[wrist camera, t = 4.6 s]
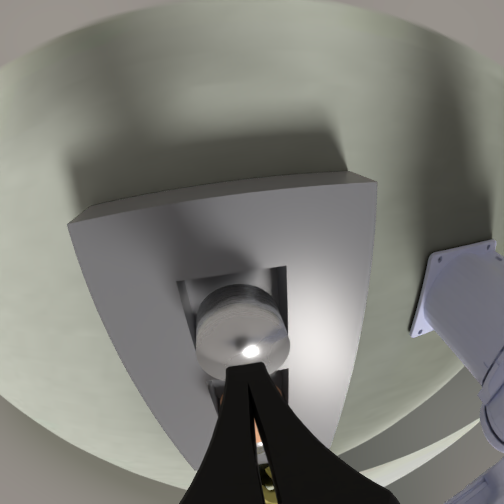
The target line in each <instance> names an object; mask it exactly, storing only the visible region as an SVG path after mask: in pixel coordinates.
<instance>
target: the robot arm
mask: <svg viewBox="0 0 504 504" xmlns="http://www.w3.org/2000/svg"><path fill="white" fill-rule="evenodd" d="M495 248H496V241H495V240H494V239H491V240H487V241H483V242H479V243H474V244H470V245H466V246H461V247H457V248H452V249H448V250H443V251H439V252H434V253H432V254H431V255H430V256H429V259H428V264H427V269H426V273H425V278H424V282H423V286H422V291H421V295H420V298H419V302H418V306H417V310H416V313H415V317H414V320H413V323H412V327H411V330H410V336H411V337H412V338H414V337H417V336H420V335H422V334H425V333H428V332H430V331H433V330H435V332H436V333H437V334H438V335H439V336H440V337H441V338H442V339H443V341H444V342H445V343H446V344H447V345H448V346H449V347H450V349H451V350H452V351H453V352H454V353H455V354H456V356H457V357H458V358H459V359H460V360H461V361H462V363H463V364H464V365H465V366H466V367H467V369H468V370H469V371H470V372H471V373H472V375H473V376H474V377H475V378H476V380H477V381H478V382H479V383H480V385H481V386H482V389H481V390H480V392H479V393H478V397H479V398H480V400H481V401H482V402H483V403H482V405H481V408H480V422H481V426H482V430H483V433H484V435H485V437H486V439H487V440H488V442H489V443H490V444H491V445H492V446H493V447H494V448H495V449H497V450H499V451H500V452H502V453H504V257H503V256H502V255H500V254H499V253H497V252H496V251H495ZM438 258H439V259H438ZM254 419H255V421H254ZM255 422H256V426H257V429H258V432H259V436H260V439H261V442H262V445H263V448H264V452H265V455H266V458H267V461H268V464H269V468H270V471H271V476H272V480H273V485H274V489H275V494H276V498H277V503H278V504H400V503H399V501H398V500H397V498H396V497H395V496H394V495H393V494H392V493H391V492H390V491H389V490H388V489H386V488H384V487H382V486H380V485H378V484H377V483H375V482H373V481H372V480H370V479H368V478H367V477H365V476H363V475H362V474H360V473H359V472H357V471H356V470H354V469H353V468H352V467H350V466H349V465H348V464H346V463H345V462H344V461H343V460H341V459H340V458H338V457H337V456H336V455H335V454H334V453H332V452H331V451H330V450H329V449H328V448H327V447H326V446H325V445H324V444H322V443H321V442H320V441H319V440H318V439H317V438H316V437H315V436H314V435H313V434H312V433H311V432H310V431H309V429H308V428H307V427H306V426H305V425H304V424H303V423H302V421H301V420H300V419H299V418H298V417H297V416H296V414H295V413H294V412H293V410H292V409H291V408H290V406H289V405H288V404H287V402H286V401H285V400H284V398H283V397H282V395H281V394H280V392H279V391H278V389H277V387H276V386H275V384H274V382H273V381H272V379H271V377H270V375H269V373H268V371H267V369H266V366H265V364H264V363H263V362H256V363H250V364H244V365H237V366H230V367H228V368H226V377H225V386H224V392H223V398H222V402H221V407H220V411H219V415H218V419H217V422H216V425H215V428H214V432H213V435H212V438H211V441H210V443H209V446H208V449H207V451H206V454H205V456H204V458H203V461H202V463H201V465H200V467H199V469H198V471H197V473H196V475H195V477H194V479H193V481H192V483H191V485H190V487H189V488H188V490H187V492H186V493H185V495H184V497H183V498H182V500H181V501H180V503H179V504H266V503H265V498H264V493H263V488H262V484H261V479H260V473H259V466H258V456H257V444H256V433H255ZM442 504H504V457H503V458H501V460H499V461H498V462H497V463H496V464H495V465H493V466H492V467H491V468H489V469H488V470H486V471H485V472H484V473H482V474H481V475H480V476H479V477H477V478H476V479H475V480H473V481H472V482H471V483H469V484H468V485H467V486H466V488H464V489H463V490H462V491H460V492H459V493H457V494H456V495H455V496H453V497H452V498H450V499H449V500H447V501H446V502H444V503H442Z"/></svg>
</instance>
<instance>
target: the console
mask: <svg viewBox="0 0 504 504" xmlns="http://www.w3.org/2000/svg"><path fill="white" fill-rule="evenodd" d="M376 205H377V182H376V181H374V180H371V179H369V178H366V177H363V176H361V175H358V174H356V173H353V172H350V171H337V172H320V173H306V174H293V175H282V176H271V177H261V178H252V179H243V180H235V181H227V182H220V183H212V184H205V185H199V186H192V187H185V188H179V189H173V190H167V191H162V192H156V193H150V194H145V195H140V196H135V197H130V198H125V199H120V200H115V201H110V202H106V203H101V204H97V205H92V206H90V207H89V208H87V209H86V210H85V211H83V212H82V213H81V214H80V215H78V216H77V217H76V218H74V219H73V220H72V221H71V222H69V223H68V224H67V226H68V230H69V233H70V237H71V240H72V243H73V246H74V249H75V253H76V256H77V259H78V261H79V264H80V267H81V270H82V273H83V276H84V278H85V281H86V284H87V286H88V289H89V291H90V294H91V296H92V299H93V301H94V304H95V306H96V308H97V311H98V313H99V315H100V318H101V320H102V322H103V324H104V326H105V329H106V331H107V333H108V335H109V337H110V339H111V341H112V343H113V345H114V347H115V349H116V351H117V353H118V355H119V357H120V359H121V361H122V363H123V364H124V366H125V368H126V370H127V372H128V374H129V375H130V377H131V379H132V381H133V382H134V384H135V386H136V387H137V389H138V391H139V393H140V394H141V396H142V397H143V399H144V401H145V402H146V404H147V405H148V407H149V409H150V410H151V412H152V413H153V415H154V416H155V418H156V419H157V421H158V422H159V424H160V425H161V427H162V428H163V430H164V431H165V432H166V434H167V435H168V437H169V438H170V439H171V441H172V442H173V443H174V445H175V446H176V447H177V449H178V450H179V451H180V453H181V454H182V455H183V457H184V458H185V459H186V460H187V462H188V463H189V464H190V465H191V467H192V468H193V469H194V470H198V469H199V467H200V465H201V463H202V461H203V458H204V456H205V454H206V451H207V449H208V446H209V443H210V441H211V438H212V435H213V432H214V428H215V425H216V422H217V419H218V415H219V411H220V407H221V404H220V399H221V396H222V395H223V392H224V386H225V381H222V380H219V379H216V378H214V377H212V376H211V375H209V374H208V373H206V372H205V371H204V370H203V369H202V368H201V366H200V365H199V363H198V361H197V358H196V324H197V312H198V309H199V306H200V304H201V303H202V301H203V300H204V299H205V298H206V297H207V296H208V295H209V294H210V293H212V292H213V291H215V290H217V289H219V288H221V287H224V286H227V285H232V284H248V285H253V286H256V287H259V288H261V289H263V290H265V291H266V292H267V293H269V294H270V295H271V296H272V297H273V299H274V300H275V302H276V304H277V307H278V309H279V312H280V315H281V317H282V320H283V323H284V325H285V328H286V331H287V334H288V336H289V339H290V352H289V355H288V357H287V359H286V361H285V362H284V363H283V364H282V366H281V367H280V368H278V369H277V370H276V371H275V372H273V373H272V374H270V377H271V379H272V381H273V382H274V384H275V385H276V386H277V387H278V388H279V389H280V391H281V393H282V397H283V398H284V400H285V401H286V402H287V404H288V405H289V406H290V408H291V409H292V410H293V412H294V413H295V414H296V416H297V417H298V418H299V419H300V420H301V421H302V423H303V424H304V425H305V426H306V427H307V428H308V429H309V431H310V432H311V433H312V434H313V435H314V436H315V437H316V438H317V439H318V440H319V441H320V442H321V443H322V444H324V445H325V446H326V447H327V448H328V449H330V447H331V444H332V441H333V438H334V435H335V432H336V429H337V426H338V422H339V419H340V416H341V413H342V409H343V406H344V402H345V399H346V395H347V391H348V387H349V384H350V380H351V376H352V372H353V367H354V363H355V359H356V354H357V350H358V345H359V340H360V335H361V330H362V324H363V319H364V313H365V307H366V301H367V295H368V288H369V280H370V273H371V265H372V256H373V246H374V235H375V222H376ZM257 456H258V464H265V463H268V461H267V458H266V455H265V454H260V455H257Z"/></svg>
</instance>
